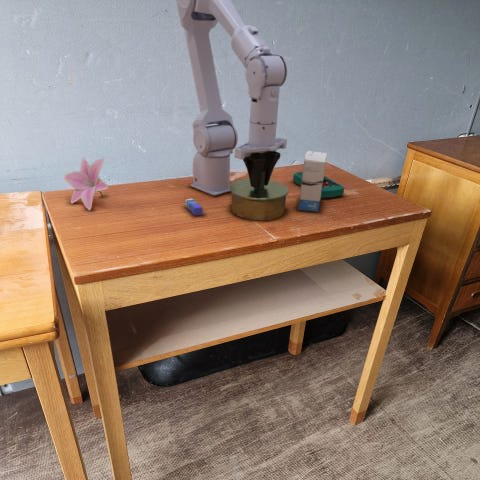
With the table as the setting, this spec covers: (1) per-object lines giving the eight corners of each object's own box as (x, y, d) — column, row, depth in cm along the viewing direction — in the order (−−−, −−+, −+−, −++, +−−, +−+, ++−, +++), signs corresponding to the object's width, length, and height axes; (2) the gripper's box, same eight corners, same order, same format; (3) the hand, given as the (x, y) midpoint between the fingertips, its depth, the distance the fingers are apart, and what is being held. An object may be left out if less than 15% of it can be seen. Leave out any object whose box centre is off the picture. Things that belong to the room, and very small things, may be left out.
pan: (220, 208, 104) (220, 190, 101) (256, 196, 111) (257, 179, 109) (258, 225, 97) (260, 205, 94) (294, 211, 104) (296, 193, 102)
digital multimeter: (320, 200, 111) (321, 189, 109) (291, 181, 122) (292, 171, 120) (344, 197, 113) (346, 186, 112) (314, 179, 124) (315, 168, 123)
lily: (67, 198, 109) (47, 169, 100) (109, 174, 110) (92, 143, 102) (87, 228, 104) (68, 200, 95) (130, 202, 105) (115, 172, 97)
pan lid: (217, 191, 101) (217, 168, 98) (257, 179, 109) (258, 158, 106) (260, 208, 94) (261, 184, 91) (300, 194, 102) (302, 171, 99)
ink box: (318, 212, 104) (326, 161, 97) (297, 210, 105) (303, 159, 98) (320, 200, 111) (327, 151, 104) (300, 198, 111) (306, 149, 105)
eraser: (193, 206, 105) (193, 197, 103) (202, 215, 100) (202, 206, 99) (185, 207, 104) (185, 198, 103) (194, 216, 99) (193, 208, 98)
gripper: (253, 129, 86) (249, 197, 94) (299, 120, 95) (293, 183, 103) (228, 123, 90) (226, 188, 98) (275, 115, 99) (270, 176, 107)
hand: (259, 185), depth 101 cm, fingers closed on pan lid, 2 cm apart
